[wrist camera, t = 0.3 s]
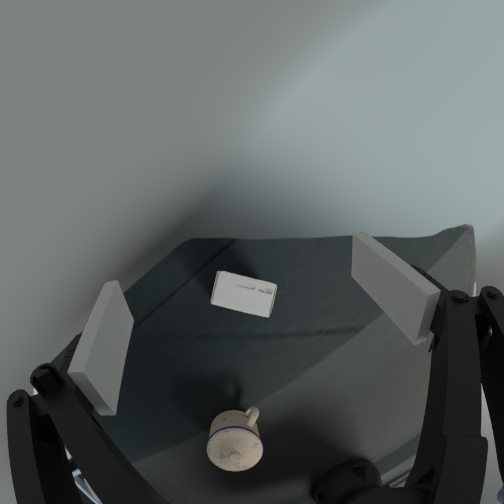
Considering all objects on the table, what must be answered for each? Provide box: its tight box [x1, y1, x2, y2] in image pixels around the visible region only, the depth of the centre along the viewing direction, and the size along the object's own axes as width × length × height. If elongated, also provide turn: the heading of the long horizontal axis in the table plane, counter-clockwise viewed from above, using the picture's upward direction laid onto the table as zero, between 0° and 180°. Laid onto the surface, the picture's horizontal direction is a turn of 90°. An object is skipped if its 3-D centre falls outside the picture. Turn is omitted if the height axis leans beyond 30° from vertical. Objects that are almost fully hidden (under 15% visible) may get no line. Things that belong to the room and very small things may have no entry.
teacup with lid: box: [206, 406, 263, 471], centre depth 40 cm, size 12×9×12 cm
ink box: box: [211, 271, 277, 317], centre depth 44 cm, size 9×5×12 cm, turn 76°
